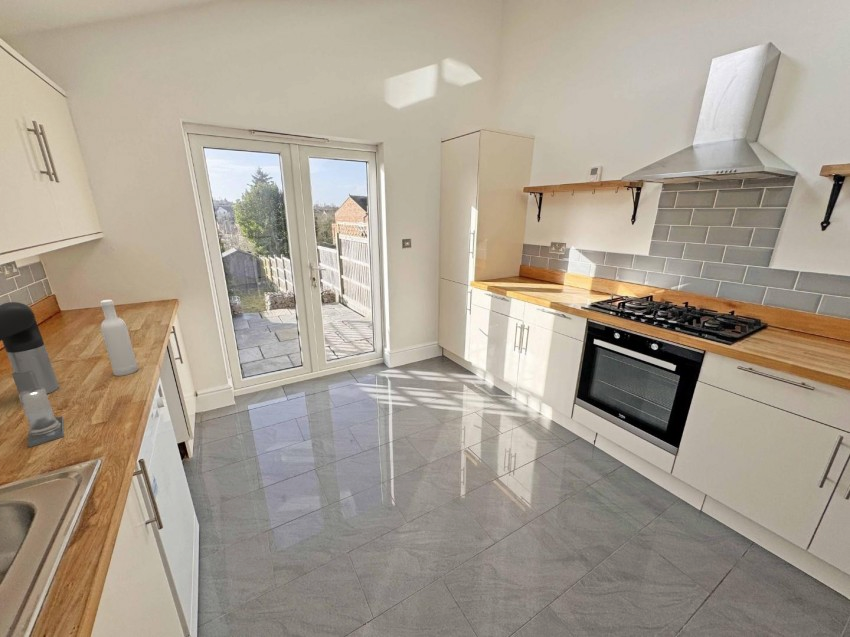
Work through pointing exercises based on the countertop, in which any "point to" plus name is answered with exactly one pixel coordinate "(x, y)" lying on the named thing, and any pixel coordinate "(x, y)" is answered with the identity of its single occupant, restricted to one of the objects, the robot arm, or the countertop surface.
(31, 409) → the flanged metal cylinder
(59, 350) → the countertop surface
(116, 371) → the bottle
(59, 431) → the base plate
